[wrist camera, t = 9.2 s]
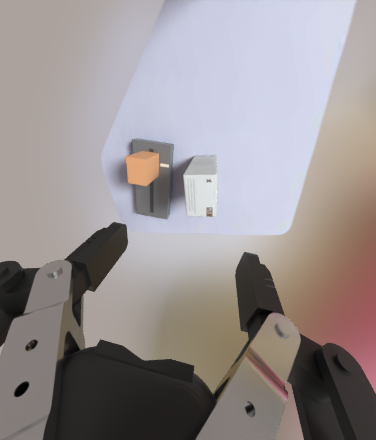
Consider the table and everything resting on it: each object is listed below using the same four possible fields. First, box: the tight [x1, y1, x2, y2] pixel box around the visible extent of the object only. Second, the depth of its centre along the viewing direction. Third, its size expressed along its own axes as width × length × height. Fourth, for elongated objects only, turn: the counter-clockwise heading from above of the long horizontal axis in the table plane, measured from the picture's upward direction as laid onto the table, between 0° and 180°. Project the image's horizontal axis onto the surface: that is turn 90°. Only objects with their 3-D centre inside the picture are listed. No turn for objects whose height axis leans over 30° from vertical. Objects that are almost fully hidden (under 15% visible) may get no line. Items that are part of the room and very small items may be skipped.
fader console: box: [132, 139, 174, 219], centre depth 32 cm, size 15×7×2 cm, turn 173°
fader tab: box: [126, 151, 159, 186], centre depth 26 cm, size 4×3×6 cm
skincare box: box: [183, 155, 217, 217], centre depth 25 cm, size 6×4×12 cm
